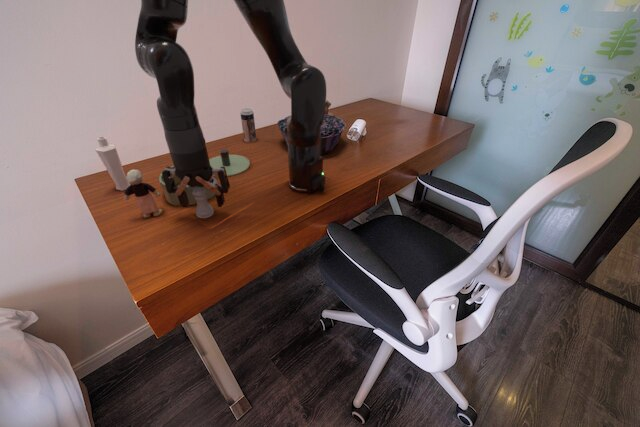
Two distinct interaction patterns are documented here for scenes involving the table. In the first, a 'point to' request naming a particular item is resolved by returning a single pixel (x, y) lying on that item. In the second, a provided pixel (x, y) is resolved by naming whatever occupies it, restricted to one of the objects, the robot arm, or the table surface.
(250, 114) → the beer can
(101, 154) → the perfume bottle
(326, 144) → the decorative bowl
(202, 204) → the rook chess piece
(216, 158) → the pot lid
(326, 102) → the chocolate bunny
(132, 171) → the grandmother figurine
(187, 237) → the table surface
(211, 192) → the pot
